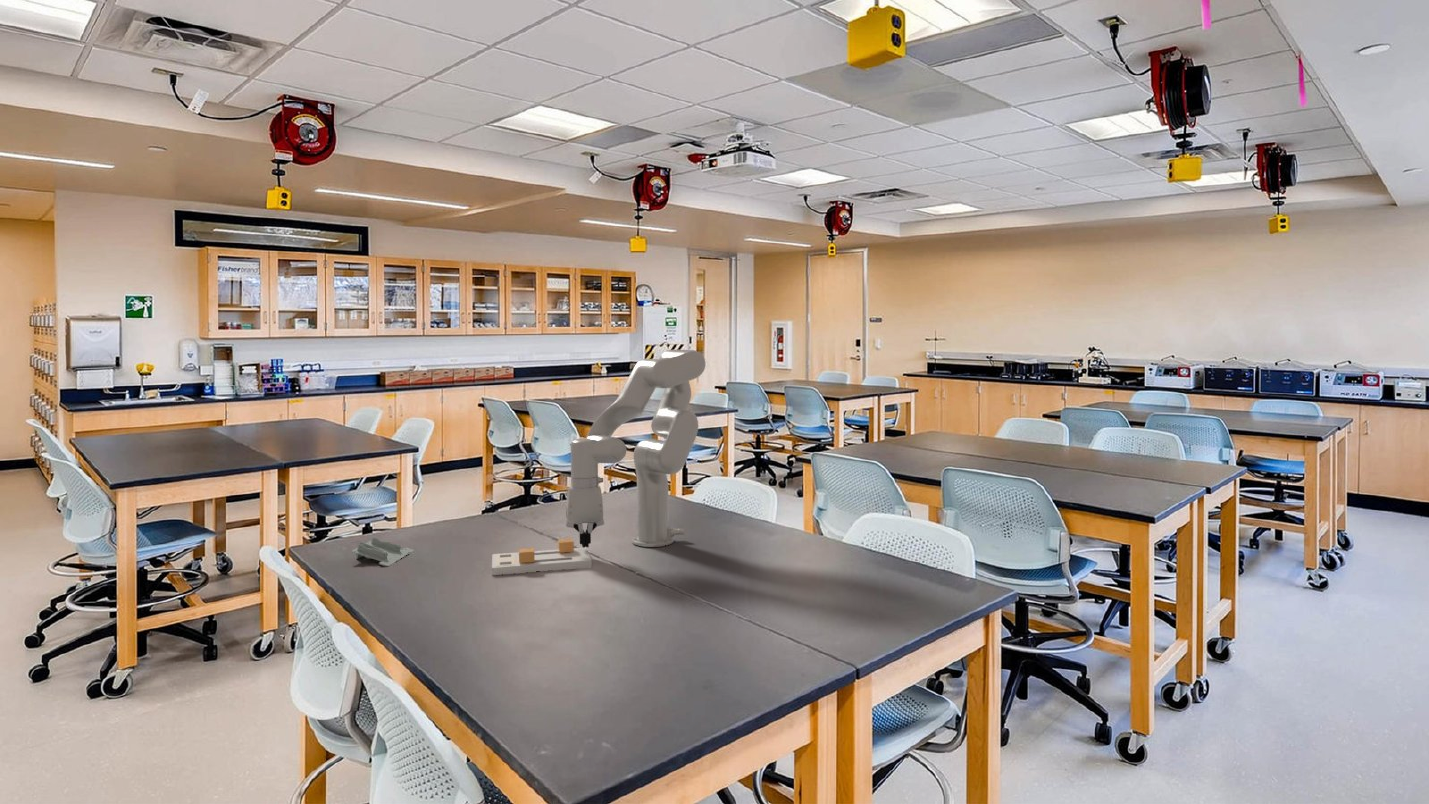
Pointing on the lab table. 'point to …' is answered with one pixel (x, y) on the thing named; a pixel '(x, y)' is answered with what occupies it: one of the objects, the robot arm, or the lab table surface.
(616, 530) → the lab table surface
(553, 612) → the lab table surface
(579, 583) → the lab table surface
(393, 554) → the metal bracket
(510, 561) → the switch panel
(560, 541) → the switch tab
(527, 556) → the switch tab
